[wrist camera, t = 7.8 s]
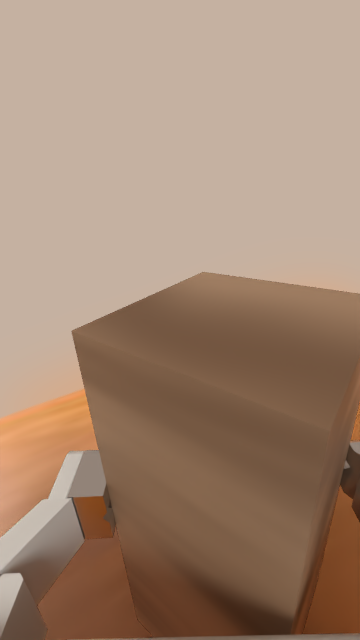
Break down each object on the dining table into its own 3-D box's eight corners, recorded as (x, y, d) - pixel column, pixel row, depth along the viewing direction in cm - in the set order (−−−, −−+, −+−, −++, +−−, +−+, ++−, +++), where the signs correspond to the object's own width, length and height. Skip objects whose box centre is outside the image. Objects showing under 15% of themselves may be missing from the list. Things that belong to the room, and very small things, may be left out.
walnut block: (209, 511, 15) (203, 271, 10) (316, 583, 12) (384, 297, 7) (137, 619, 11) (71, 331, 6) (266, 759, 8) (329, 430, 3)
